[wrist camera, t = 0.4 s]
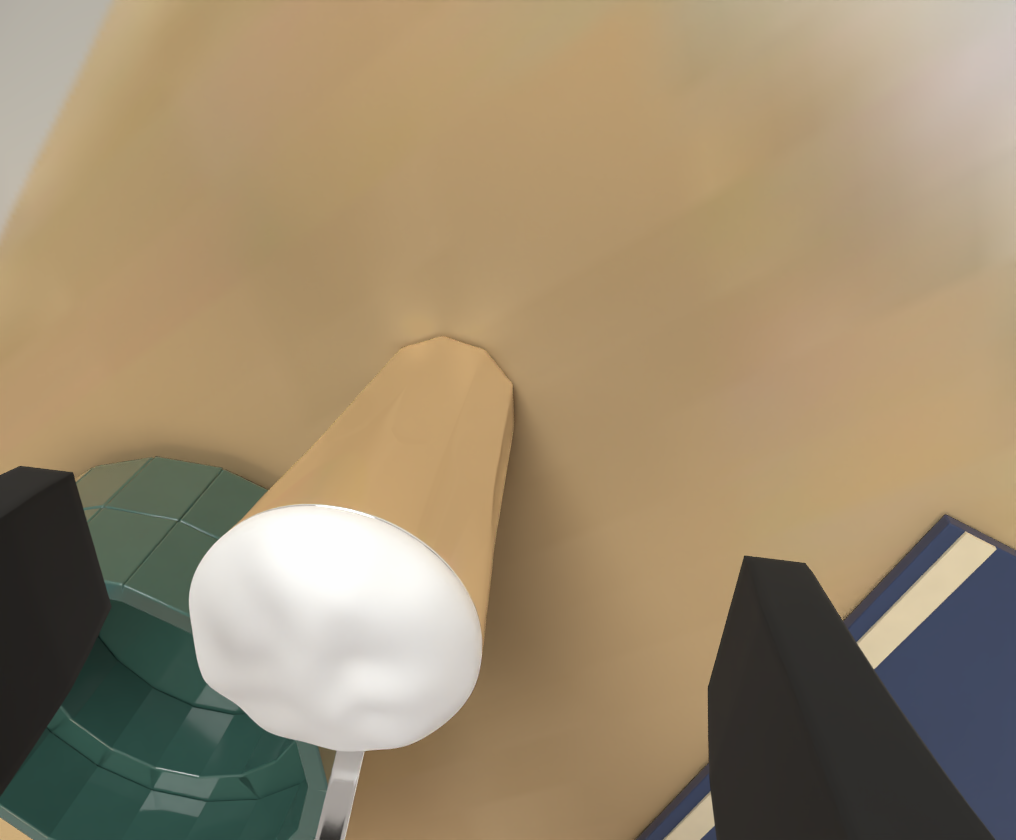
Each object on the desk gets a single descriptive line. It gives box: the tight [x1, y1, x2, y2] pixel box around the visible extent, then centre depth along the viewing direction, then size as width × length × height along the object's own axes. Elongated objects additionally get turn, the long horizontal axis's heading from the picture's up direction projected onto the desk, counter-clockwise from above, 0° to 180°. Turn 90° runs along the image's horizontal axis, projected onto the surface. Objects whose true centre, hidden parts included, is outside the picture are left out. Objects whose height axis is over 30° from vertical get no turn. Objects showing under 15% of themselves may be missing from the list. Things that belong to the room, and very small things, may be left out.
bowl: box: [0, 456, 336, 840], centre depth 22 cm, size 10×10×5 cm
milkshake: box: [189, 336, 514, 840], centre depth 16 cm, size 4×5×10 cm
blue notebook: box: [636, 515, 1016, 840], centre depth 23 cm, size 15×8×1 cm, turn 155°
